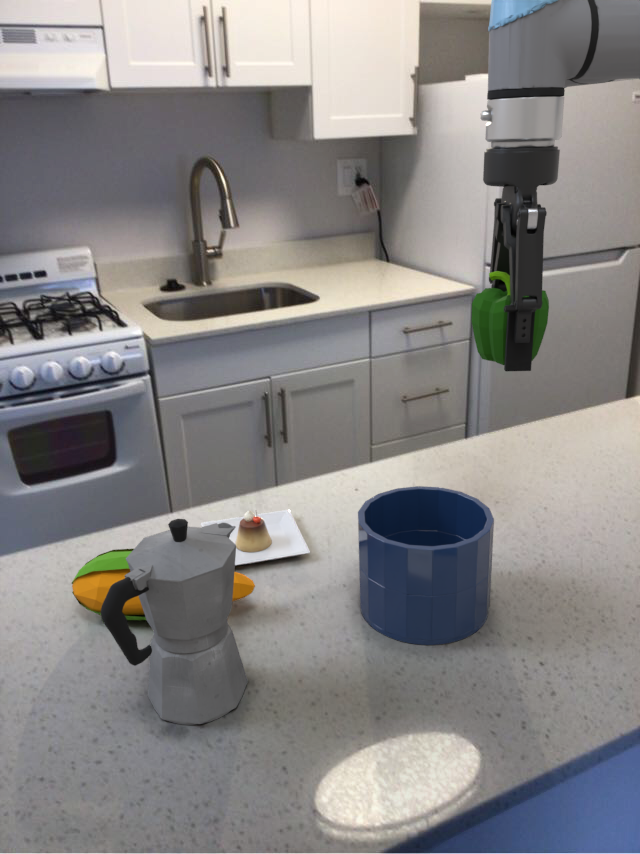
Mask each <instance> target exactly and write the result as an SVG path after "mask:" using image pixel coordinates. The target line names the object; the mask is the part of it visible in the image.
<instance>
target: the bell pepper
mask: <svg viewBox="0 0 640 854" xmlns="http://www.w3.org/2000/svg"><path fill="white" fill-rule="evenodd" d="M489 277H490V278H491V280H492V281H494V280H496V279H500V280H502V281H504V282H505V284H506V288H507V291H505V292H503V291H502V290H500V289H497V288H491V287H486V288H484V289H483V290H482V291H481V292H477V293H476V294H475V296H474V298H473V301H471V326H472V332H473V337H474V341H475V346H476V350H477V353H478V355H479V356H480V358H481V360H484V361H489V362H494V363H497V364H499V365H502V366H504V364H505V347H506V329H507V312H504V307H505V306H506V305H510V304H511V298H510V275H509V274H507V273H505V272H500V271H495V272H491V273H490V272H489V273H488V278H489ZM524 297H529V296H524ZM548 297H549V296H548V294H547V291H546V290H544V289H542V307H541V309H537V310H536V311H535V321H534V335H533V349H532V361H534V360H535V358H536V357H537V355H538V354H539V351H540V348H541V345H542V343H543V339H544V337H545V333H546V329H547V326H548V322H549V321H548V320H549V311H550V300H549V298H548Z"/></svg>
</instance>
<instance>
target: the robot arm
mask: <svg viewBox="0 0 640 854" xmlns="http://www.w3.org/2000/svg"><path fill="white" fill-rule="evenodd" d="M490 2H491V3H490V13H489V24H488V27H487V28H488V29H487V32H488V64H487V67H488V68H487V95H486V100H487V102H486V110H482V111H481V113H480V120H481V121H483V122H486V124H485V137H484V138H485V141H486V142H487V143H490V147H487V148H486V151H484V153H483V172H482V173H483V174H482V181H483V183H484V185H486V186H489V187H500V188H502V191H501V192H502V193H501V197H495V198H494V201H493V206H494V213H493V215H494V216H493V217H494V218H493V219H494V220H493V231H492V243H491V254H490V255H491V256H490V266H489V273H491V272H495V271H500V272H505V273H507V274H509V275H510V298H511V304H510V305H506V306H505V307H504V312H507V329H506V347H505V364H504V365H503V366H504V367H503V369H504V371H505V372H531V371H532V364H533V363H532V349H533V335H534V321H535V311H536V310H537V309H541V307H542V290H543V279H544V277H543V274H544V273H543V272H544V239H545V237H544V236H545V225H546V219H547V218H546V217H547V213H548V212H547V209H546V207H544V206H542V205H541V204H540V203H538V191H537V190H538V187H540V186H551V185H554V184H555V183H556V182H557V181H558V179H559V167H560V152H561V149H559V147H558V146H556V145H555V143H556V141H559V140H560V139H561V138H562V135H563V120H564V107H565V91H566V88H569V87H570V88H571V87H578V86H579V87H580V86H588V85H598V84H607V83H613V82H622V81H631V80H632V81H633V80H640V0H491V1H490ZM488 283H489V284H490V288H497V289H500V290H502V291H503V292H505V291H507V288H506V284H505V282H504V281H502V280H500V279H496V280H494V281H492V280H491V278H490V277H489V276H488ZM524 296H529V297H524Z"/></svg>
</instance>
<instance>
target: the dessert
mask: <svg viewBox="0 0 640 854" xmlns="http://www.w3.org/2000/svg"><path fill="white" fill-rule="evenodd" d="M215 523H217V524H220V523H228V524H230V525H231V526H235V527H236V528H235V529H234V530H233V531H232V533H231V534H230V537H229V539H230V540H231V541H232V542H233V543H234V544H236V556H235V567H240V566H246V565H252V564H259V563H263V562H269V561H275V560H281V559H288V558H289V559H290V558H295V557H298V556H299V557H300V556H302V555H307V554H310V553H311V551H310V549H309V547H308V544H307V542H306V540H305V538H304V536H303V534H302V532H301V530H300V528H299V526H298V524H297V522H296V519H295V518H294V515H293V514H292V511H291V510H290V509H289V508H288V509H282V510H275V511H269V512H262V513H258V512H257V511H255V513H254V512H253V511H252V510H247V511H246V512H244V515H243V516H236V517H230V518H223V519H217V520H210V521H203V522H200V528H202V527H204V526H208V525H211V524H215Z"/></svg>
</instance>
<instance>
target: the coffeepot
mask: <svg viewBox="0 0 640 854" xmlns="http://www.w3.org/2000/svg"><path fill="white" fill-rule="evenodd" d="M167 525H168V528H169V529H167V530H164V531H161V532H158V533H155V534H152V535H149V536H148V535H147V536H144V537H142V539H141V540H140V541H139V543H138V544H137V545H136V546H135V547H134V548H133V549H134V550H133V551H132V552H131V553H130V554H129V555H128V557H127V558H126V560H127V562H128V565H129V568H130V571H131V572H129V573H128V574H126V575H125V578H124V579H122V580H120V581H118V582H116V583H114V584H113V585H112V586H111V587H110V589H109V591H108V593H107V596H106V598H105V600H104V602H103V604H102V607H101V615H100V617H101V619H102V622H103V624H104V626H105V627H106V628H107V630H108V631H109V633H110V634H111V636H112V638H113V640H114V641H115V643H116V644H117V646H118V647H119V649H120V650H121V652H122V654H123V656H124V657H125V658H126V660H127V662H128V664H130V665H132V666H138V665H140V664H142V663H143V662H145V661H146V660H147V659H148V658H149V664H148V668H149V669H148V684H147V698H148V700H149V701H150V703H151V705H152V707H153V709H154V711H155V712H156V713H157V714H158V716H159V717H160V719H161V720H163V721H166V722H168V723H169V722H170V723H173V724H177V725H183V726H184V725H185V726H193V725H202V724H207V723H211V722H213V721H216V720H219V719H221V718H222V717H224V716H226V715H228V714H229V713H230V712H231V711H233V710H234V709H236V708H237V707H238V705H239V703H240V702H241V700H242V698H243V695H244V694H245V689H246V687H247V686H248V683H249V680H248V677H247V673H246V670H245V667H244V663H243V661H242V657H241V655H240V651H239V647H238V644H237V641H236V637H235V634H234V631H233V628H232V626H231V625H230V624H229V619H228V617H229V616H230V613H231V611H232V609H233V602H232V598H233V584H234V572H235V571H236V570H235V569H236V566H235V556H236V544H234V543H233V542H232V541H231V540H230V539H229V537H230V534H231V533H232V531H233V530H234V529H235V528H236V527H235V526H231V525H230V524H228V523H220V524H217V523H215V524H211V525H208V526H204V527H201V526H189V522H188V520H187V519H186V518H176V519H175V518H174V519H172V520H170V521H169V522H168V524H167ZM136 596H139V599H140V602H141V605H142V608H143V611H144V614H145V615H144V617H146V620H145V621H146V622H147V624H148V625H149V626H150V628H151V630H153V631H152V632H153V635H152V638H151V640H150V644H148V645H147V646H146V647H143V648H140V649H139V646H138V640H137V636H136V635H135V634H134V633H133V632H132V630H131V628H130V626H129V623H128V620H127V619H126V617H125V616H126V615H124V614H123V613H122V610H123V607H124V604H125V602H127V601H128V600H130V599H131V598H134V597H136Z"/></svg>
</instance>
